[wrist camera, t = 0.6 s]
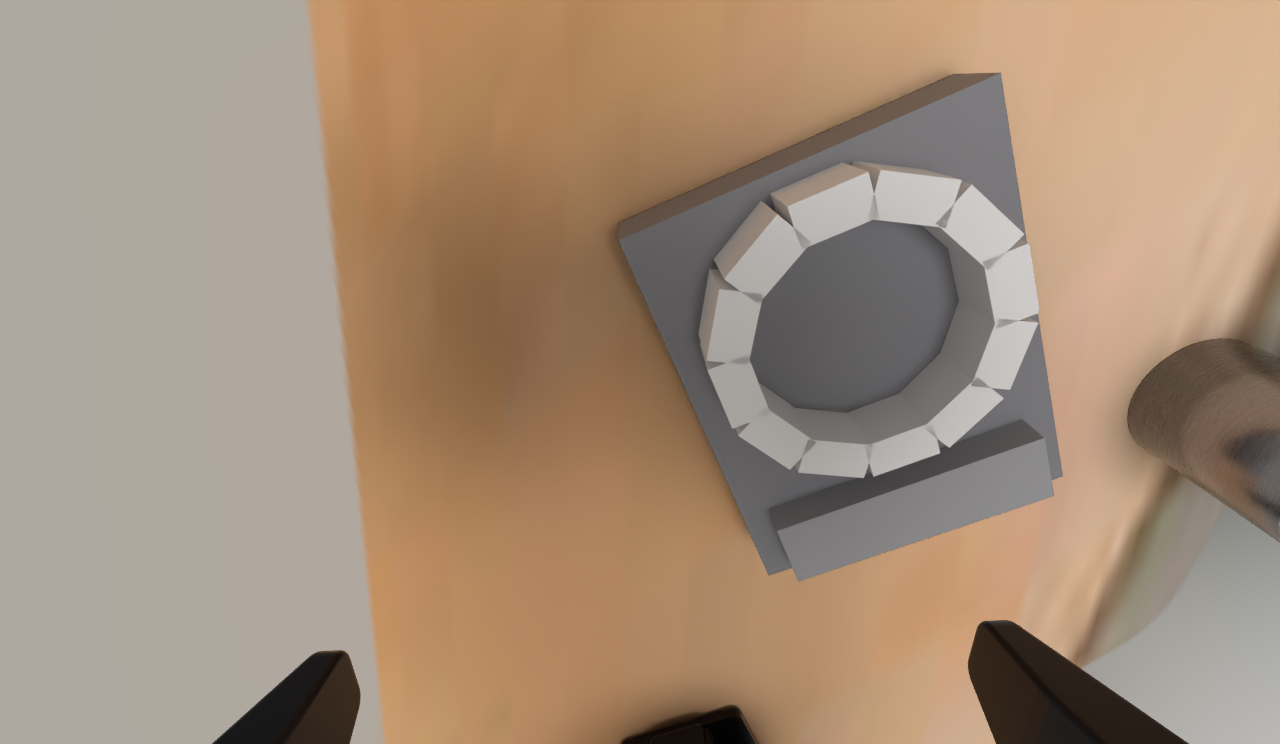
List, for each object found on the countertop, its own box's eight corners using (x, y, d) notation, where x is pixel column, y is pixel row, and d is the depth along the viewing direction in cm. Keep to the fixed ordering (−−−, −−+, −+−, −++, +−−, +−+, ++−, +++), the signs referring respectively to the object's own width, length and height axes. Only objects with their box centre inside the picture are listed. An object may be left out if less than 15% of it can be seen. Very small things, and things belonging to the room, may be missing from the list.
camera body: (1020, 439, 24) (1103, 512, 20) (755, 532, 26) (781, 616, 21) (953, 74, 18) (1049, 71, 14) (618, 222, 20) (618, 258, 16)
